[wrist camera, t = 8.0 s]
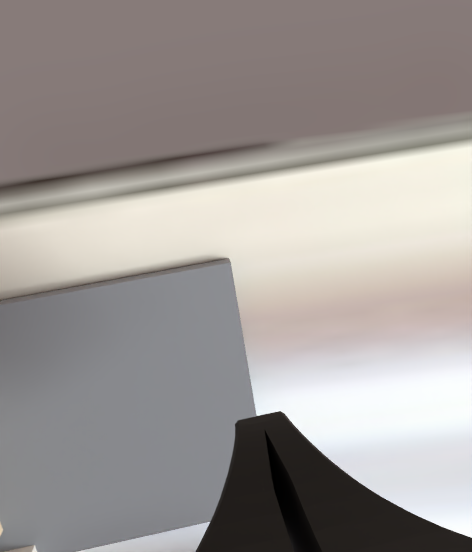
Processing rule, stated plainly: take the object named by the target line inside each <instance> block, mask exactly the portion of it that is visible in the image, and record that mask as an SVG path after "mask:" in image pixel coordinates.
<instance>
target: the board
mask: <svg viewBox="0 0 472 552" xmlns="http://www.w3.org/2000/svg"><path fill="white" fill-rule="evenodd" d="M251 417H256V411H255V405H254V399H253V393H252V387H251V381H250V375H249V369H248V363H247V357H246V351H245V345H244V339H243V333H242V327H241V322H240V316H239V310H238V304H237V298H236V292H235V286H234V280H233V274H232V268H231V262H230V260H229V259H223V260H218V261H212V262H207V263H202V264H196V265H191V266H185V267H180V268H174V269H169V270H164V271H158V272H153V273H147V274H142V275H136V276H131V277H126V278H120V279H115V280H109V281H104V282H98V283H93V284H88V285H82V286H77V287H71V288H66V289H60V290H55V291H50V292H44V293H39V294H33V295H28V296H22V297H17V298H12V299H6V300H1V301H0V523H1V526H2V528H3V531H2V534H1V536H0V552H5V551H10V550H14V549H19V548H23V547H28V546H32V545H35V547H36V550H37V552H76V551H81V550H85V549H90V548H94V547H99V546H103V545H108V544H112V543H117V542H121V541H125V540H130V539H134V538H139V537H143V536H148V535H152V534H157V533H161V532H166V531H170V530H174V529H179V528H183V527H188V526H192V525H197V524H201V523H206V522H210V521H211V519H212V517H213V515H214V512H215V510H216V507H217V505H218V502H219V499H220V497H221V493H222V490H223V487H224V484H225V481H226V478H227V474H228V471H229V466H230V462H231V458H232V453H233V448H234V441H235V424H236V422H237V421H238V420H241V419H246V418H251Z"/></svg>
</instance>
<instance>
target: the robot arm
mask: <svg viewBox="0 0 472 552" xmlns="http://www.w3.org/2000/svg"><path fill="white" fill-rule="evenodd" d="M196 552H472V538H470V537H468V536H465V535H462V534H459V533H457V532H454V531H451V530H448V529H446V528H443V527H441V526H439V525H436V524H434V523H432V522H430V521H427V520H425V519H423V518H421V517H418V516H416V515H414V514H412V513H410V512H408V511H406V510H404V509H403V508H401V507H399V506H397V505H395V504H393V503H391V502H390V501H388V500H386V499H384V498H382V497H381V496H379V495H377V494H376V493H374V492H373V491H371V490H369V489H368V488H366V487H365V486H363V485H362V484H361V483H359V482H358V481H356V480H355V479H353V478H352V477H351V476H349V475H348V474H347V473H345V472H344V471H343V470H342V469H340V468H339V467H338V466H337V465H335V464H334V463H333V462H332V461H331V460H329V459H328V458H327V457H326V456H325V455H324V454H322V453H321V452H320V451H319V450H318V449H317V448H316V447H315V446H314V445H313V444H312V443H311V442H310V441H309V440H308V439H307V438H306V437H305V436H304V435H303V434H302V433H301V432H300V431H299V430H298V429H297V428H296V427H295V426H294V425H293V424H292V422H291V421H290V420H289V419H288V418H287V416H286V415H285V414H284V413H282V412H281V411H279V412H275V413H270V414H265V415H260V416H256V417H251V418H246V419H241V420H238V421H237V422H236V424H235V441H234V448H233V453H232V458H231V462H230V466H229V471H228V474H227V478H226V481H225V484H224V487H223V490H222V493H221V497H220V499H219V502H218V505H217V507H216V510H215V512H214V515H213V517H212V519H211V522H210V524H209V526H208V528H207V530H206V532H205V534H204V536H203V538H202V540H201V542H200V544H199V546H198V548H197V550H196Z"/></svg>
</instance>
